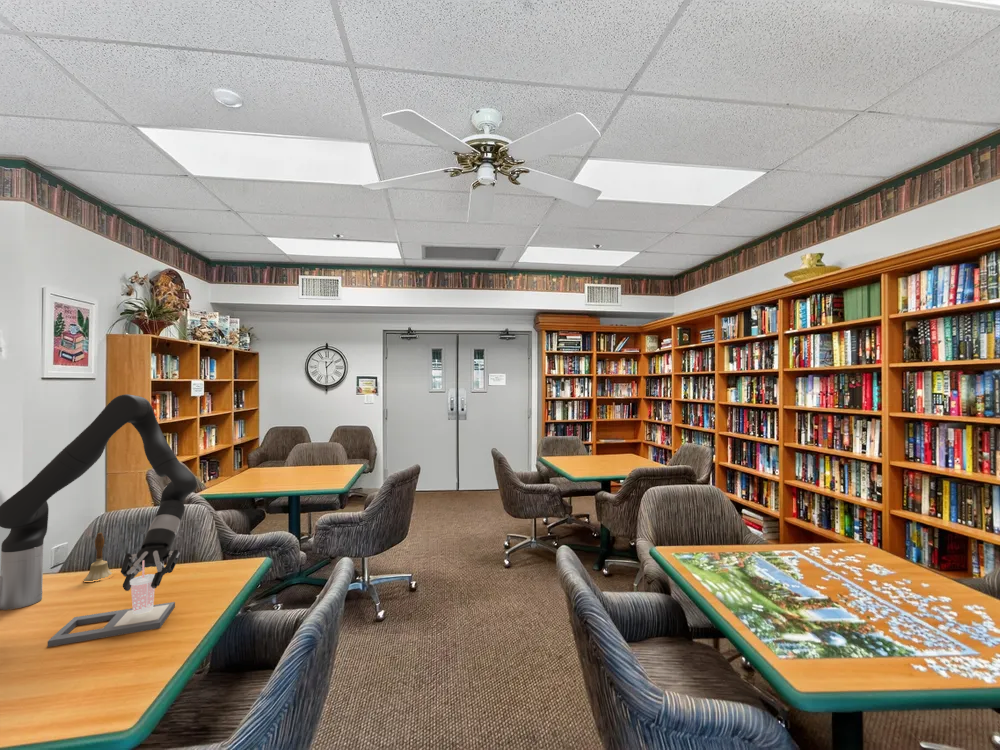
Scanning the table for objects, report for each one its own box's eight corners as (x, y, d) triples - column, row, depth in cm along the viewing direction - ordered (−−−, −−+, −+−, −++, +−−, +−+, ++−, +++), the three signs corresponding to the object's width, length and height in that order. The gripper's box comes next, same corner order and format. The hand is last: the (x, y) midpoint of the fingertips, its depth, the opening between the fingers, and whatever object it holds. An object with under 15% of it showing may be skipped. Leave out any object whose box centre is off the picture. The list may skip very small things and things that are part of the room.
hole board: (47, 647, 118) (47, 640, 118) (74, 622, 131) (74, 616, 131) (160, 628, 127) (160, 621, 127) (174, 606, 140) (174, 601, 140)
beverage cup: (151, 603, 136) (152, 555, 136) (160, 608, 132) (160, 559, 133) (126, 611, 131) (126, 561, 131) (133, 617, 127) (134, 565, 128)
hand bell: (119, 574, 168) (120, 530, 168) (95, 583, 159) (96, 536, 160) (102, 573, 169) (102, 528, 170) (76, 582, 161) (77, 535, 162)
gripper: (130, 529, 138) (104, 585, 126) (184, 525, 141) (163, 580, 129) (140, 541, 143) (116, 596, 131) (192, 537, 146) (173, 591, 134)
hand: (140, 588), depth 130 cm, fingers closed on beverage cup, 6 cm apart
